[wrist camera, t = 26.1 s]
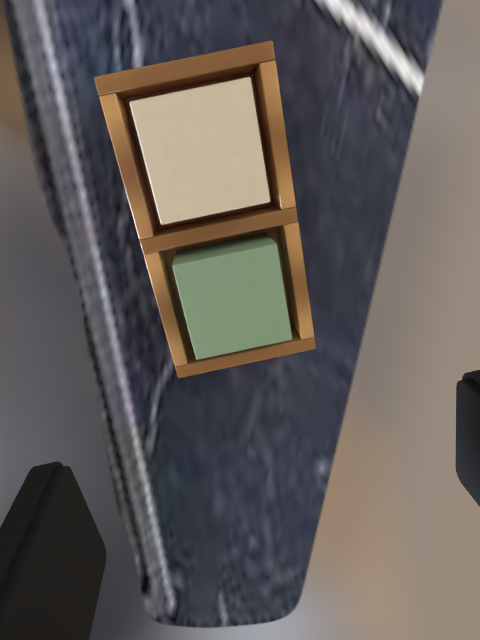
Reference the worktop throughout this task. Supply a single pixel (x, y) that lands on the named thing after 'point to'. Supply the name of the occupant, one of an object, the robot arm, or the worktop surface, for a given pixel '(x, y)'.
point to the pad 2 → (232, 295)
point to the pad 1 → (202, 150)
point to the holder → (218, 227)
